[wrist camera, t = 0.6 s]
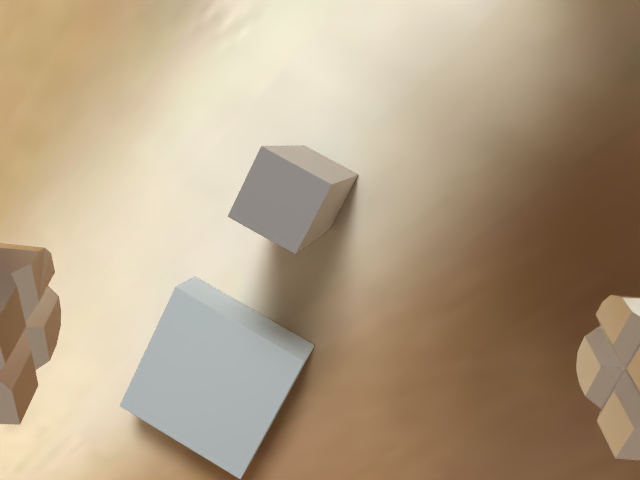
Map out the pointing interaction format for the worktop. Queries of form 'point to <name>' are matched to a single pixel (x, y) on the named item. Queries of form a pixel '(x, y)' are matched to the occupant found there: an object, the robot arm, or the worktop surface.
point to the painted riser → (215, 375)
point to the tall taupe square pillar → (292, 195)
